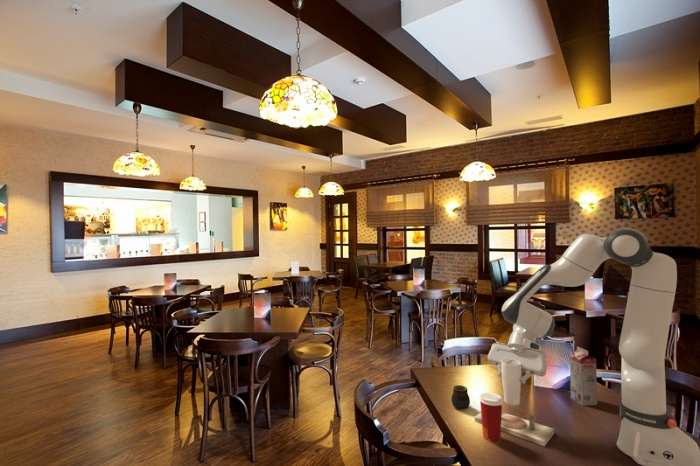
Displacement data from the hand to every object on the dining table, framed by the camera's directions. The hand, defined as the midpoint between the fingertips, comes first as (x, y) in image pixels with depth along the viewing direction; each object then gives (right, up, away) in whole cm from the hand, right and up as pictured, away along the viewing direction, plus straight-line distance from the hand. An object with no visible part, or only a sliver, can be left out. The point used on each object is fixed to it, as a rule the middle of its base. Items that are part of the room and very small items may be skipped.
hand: (511, 379), depth 130 cm
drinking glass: (+1, -9, +1) cm, 9 cm away
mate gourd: (-14, -18, +15) cm, 27 cm away
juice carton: (+39, -17, +19) cm, 47 cm away
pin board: (+1, -17, 0) cm, 17 cm away
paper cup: (-10, -18, -7) cm, 21 cm away
